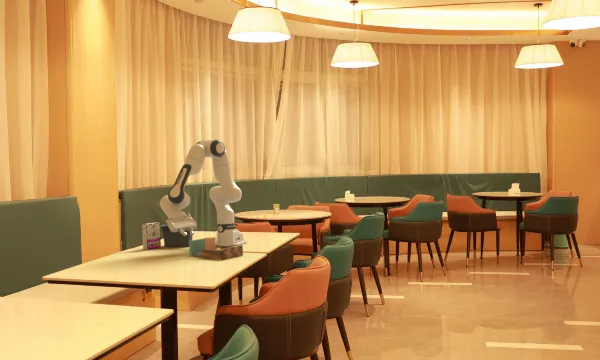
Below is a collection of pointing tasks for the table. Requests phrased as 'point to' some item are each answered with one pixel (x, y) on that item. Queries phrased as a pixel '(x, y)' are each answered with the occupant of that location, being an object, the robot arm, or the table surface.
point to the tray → (196, 247)
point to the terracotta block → (210, 243)
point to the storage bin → (175, 237)
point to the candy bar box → (151, 236)
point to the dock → (223, 252)
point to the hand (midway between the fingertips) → (189, 234)
